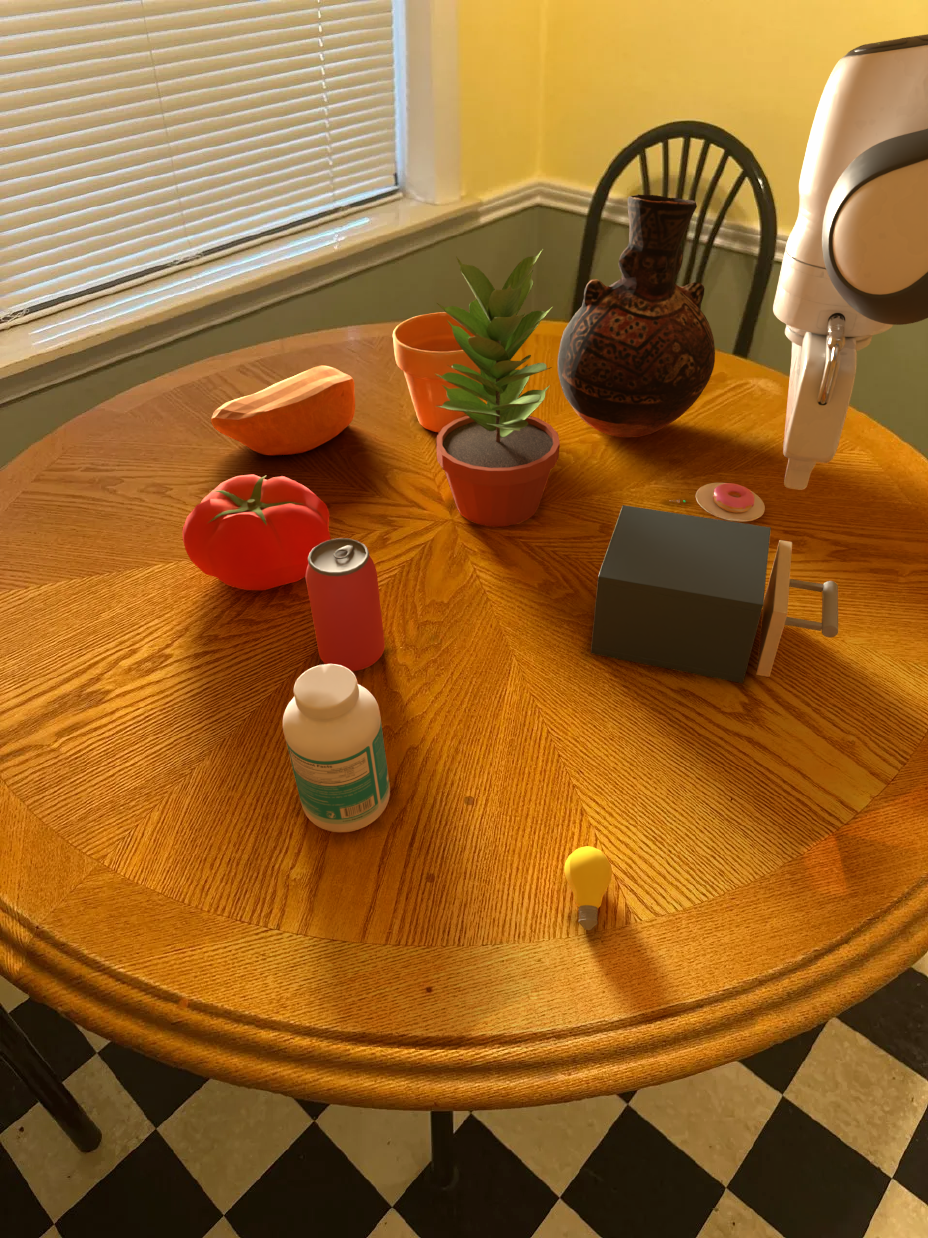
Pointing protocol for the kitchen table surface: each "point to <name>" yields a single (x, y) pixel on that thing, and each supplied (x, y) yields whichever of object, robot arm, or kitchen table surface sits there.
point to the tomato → (256, 531)
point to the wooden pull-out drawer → (778, 608)
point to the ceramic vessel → (640, 331)
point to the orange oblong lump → (291, 413)
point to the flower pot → (430, 365)
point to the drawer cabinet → (681, 592)
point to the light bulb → (588, 882)
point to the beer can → (345, 604)
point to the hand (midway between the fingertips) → (796, 456)
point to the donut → (730, 502)
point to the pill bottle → (336, 749)
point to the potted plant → (496, 407)
